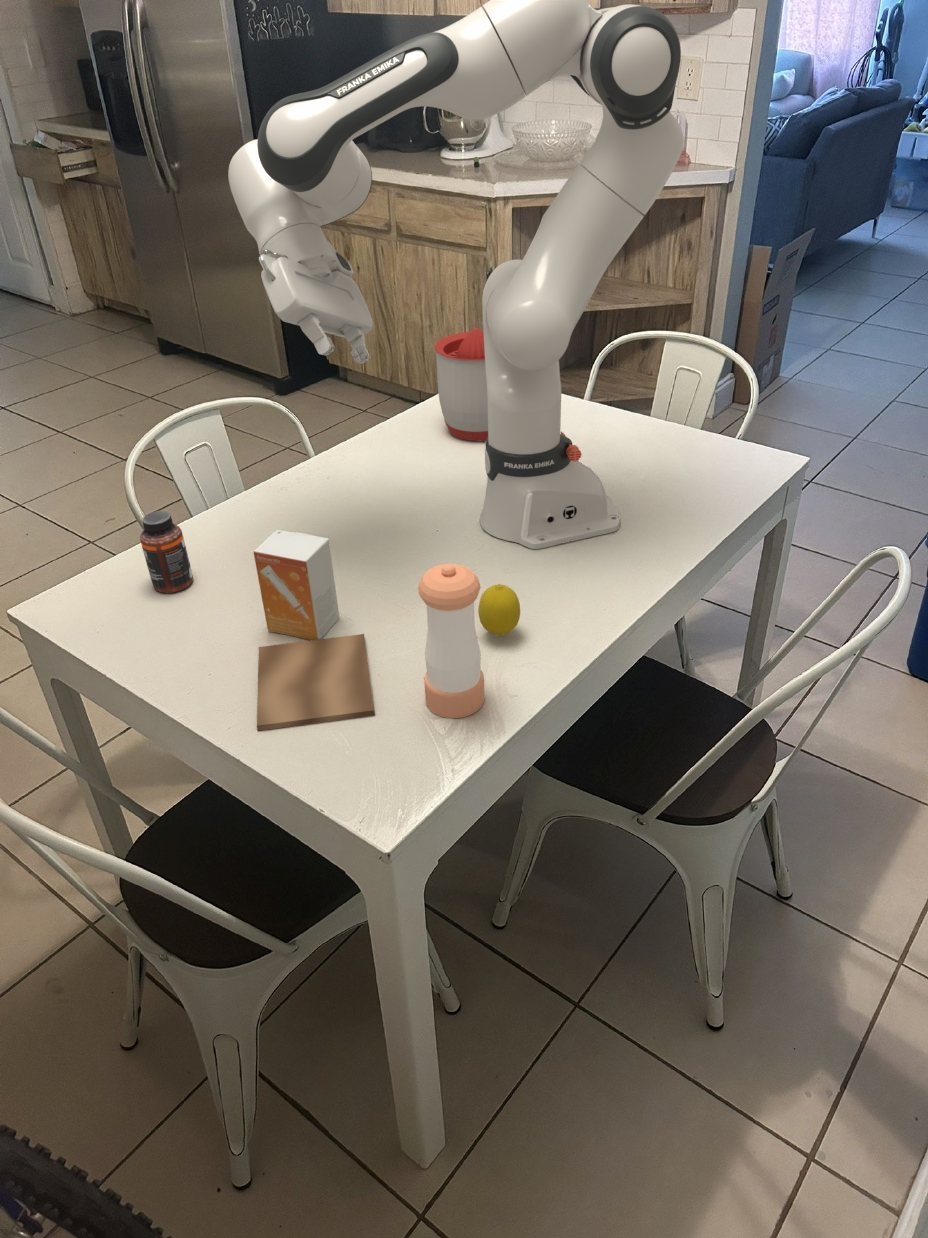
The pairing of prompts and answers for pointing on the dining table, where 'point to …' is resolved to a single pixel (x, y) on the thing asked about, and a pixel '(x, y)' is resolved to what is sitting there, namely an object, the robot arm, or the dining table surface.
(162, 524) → the supplement bottle
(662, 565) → the dining table surface
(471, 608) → the pepper shaker
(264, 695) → the walnut board
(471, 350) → the citrus juicer
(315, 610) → the small box
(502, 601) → the lemon
